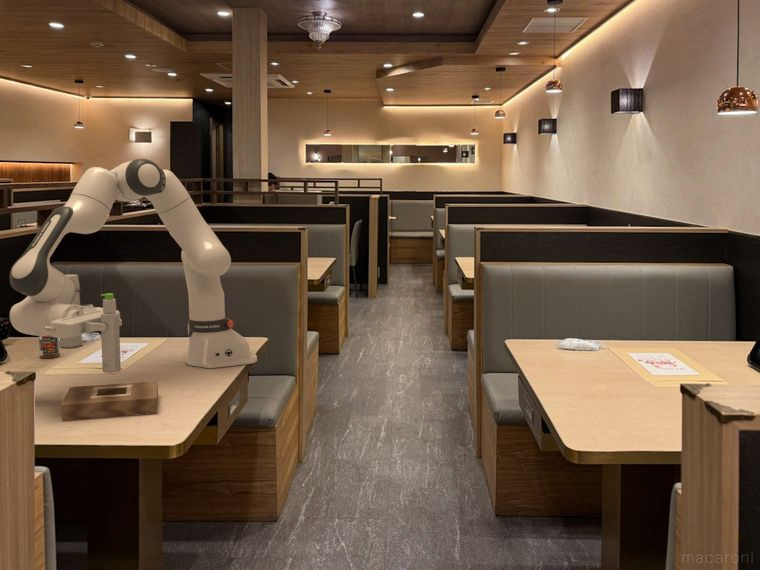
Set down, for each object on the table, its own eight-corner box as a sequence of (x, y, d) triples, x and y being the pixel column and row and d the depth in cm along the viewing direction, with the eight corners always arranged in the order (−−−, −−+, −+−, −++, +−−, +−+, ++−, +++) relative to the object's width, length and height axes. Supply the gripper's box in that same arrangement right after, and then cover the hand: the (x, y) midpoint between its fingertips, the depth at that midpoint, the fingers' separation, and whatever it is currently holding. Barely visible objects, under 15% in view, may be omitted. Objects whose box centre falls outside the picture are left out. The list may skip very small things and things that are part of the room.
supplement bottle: (40, 360, 239) (38, 325, 237) (39, 356, 244) (37, 322, 242) (60, 358, 241) (58, 324, 240) (59, 354, 247) (57, 321, 245)
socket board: (158, 395, 200) (157, 380, 199) (156, 413, 184) (156, 396, 184) (70, 401, 194) (69, 386, 193) (62, 420, 178) (61, 403, 178)
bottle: (105, 368, 191) (102, 292, 188) (122, 368, 191) (120, 292, 189) (100, 373, 187) (97, 295, 184) (118, 373, 187) (115, 295, 184)
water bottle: (78, 348, 255) (74, 277, 251) (55, 348, 255) (51, 276, 251) (89, 342, 264) (85, 273, 260) (67, 342, 264) (63, 273, 260)
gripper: (37, 316, 181) (85, 319, 177) (92, 303, 200) (136, 306, 196) (39, 341, 182) (86, 345, 178) (93, 326, 201) (137, 329, 197)
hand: (113, 325), depth 187 cm, fingers closed on bottle, 4 cm apart
